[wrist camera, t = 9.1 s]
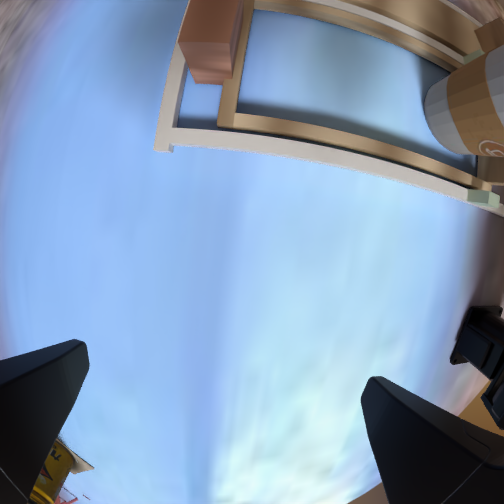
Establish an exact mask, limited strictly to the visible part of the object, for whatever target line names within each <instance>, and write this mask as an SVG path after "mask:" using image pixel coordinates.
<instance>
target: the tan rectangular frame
mask: <svg viewBox="0 0 504 504" xmlns="http://www.w3.org/2000/svg"><path fill="white" fill-rule="evenodd" d="M254 9H259V10H267V11H275V12H281V13H287V14H293V15H298V16H303V17H308V18H312V19H317V20H321V21H325V22H329V23H333V24H336V25H340V26H343V27H347V28H350V29H353V30H356V31H359V32H362V33H365V34H368V35H371V36H374V37H377V38H379V39H382V40H385V41H387V42H390V43H392V44H395V45H397V46H399V47H402V48H404V49H406V50H408V51H411V52H413V53H415V54H417V55H419V56H421V57H423V58H425V59H427V60H429V61H431V62H433V63H435V64H437V65H439V66H441V67H442V68H444V69H446V70H448V71H450V72H451V73H452V72H454V71H455V70H457V69H459V68H460V67H462V66H464V65H462V64H460V63H459V62H457V61H456V60H454V59H452V58H451V57H449V56H447V55H446V54H444V53H442V52H440V51H438V50H437V49H435V48H433V47H431V46H429V45H427V44H425V43H423V42H421V41H419V40H417V39H415V38H413V37H411V36H409V35H407V34H404V33H402V32H400V31H398V30H395V29H393V28H390V27H388V26H386V25H383V24H380V23H378V22H375V21H372V20H370V19H367V18H364V17H361V16H358V15H355V14H352V13H349V12H345V11H342V10H339V9H335V8H331V7H327V6H324V5H319V4H315V3H311V2H306V1H301V0H190V3H189V6H188V9H187V12H186V15H185V18H184V22H183V25H182V28H181V32H180V35H179V39H178V44H179V47H180V49H181V51H182V53H183V56H184V58H185V60H186V63H187V65H188V67H189V69H190V72H191V74H192V76H193V79H194V81H195V83H196V84H214V85H223V88H222V94H221V100H220V106H219V112H218V118H217V126H218V128H227V129H237V130H246V131H254V132H261V133H268V134H275V135H281V136H288V137H294V138H299V139H305V140H310V141H315V142H320V143H325V144H330V145H334V146H339V147H343V148H347V149H352V150H356V151H360V152H364V153H368V154H371V155H375V156H379V157H382V158H386V159H389V160H393V161H396V162H399V163H403V164H406V165H409V166H412V167H415V168H418V169H421V170H424V171H427V172H430V173H433V174H436V175H439V176H441V177H444V178H447V179H449V180H452V181H455V182H457V183H460V184H462V185H465V186H467V187H470V188H472V189H474V190H485V191H491V189H492V185H502V186H504V157H495V156H479V155H478V172H477V177H474V176H472V175H470V174H468V173H465V172H463V171H461V170H459V169H456V168H454V167H451V166H449V165H447V164H444V163H442V162H439V161H436V160H434V159H431V158H429V157H426V156H423V155H420V154H418V153H415V152H412V151H409V150H406V149H403V148H400V147H397V146H394V145H390V144H387V143H384V142H381V141H377V140H374V139H370V138H367V137H363V136H359V135H355V134H351V133H347V132H343V131H339V130H335V129H331V128H326V127H322V126H317V125H312V124H307V123H302V122H296V121H291V120H285V119H278V118H272V117H265V116H258V115H250V114H241V113H236V110H237V104H238V97H239V91H240V85H241V79H242V72H243V67H244V61H245V55H246V49H247V44H248V38H249V32H250V27H251V22H252V17H253V11H254Z"/></svg>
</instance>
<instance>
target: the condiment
mask: <svg viewBox="0 0 504 504" xmlns="http://www.w3.org/2000/svg"><path fill="white" fill-rule="evenodd" d="M76 460H77V461H76ZM92 469H94V468H93V467H91V466H90V465H88V464H87V463H86V462H84V461H83V460H82V459H81V458H79V457H78V456H77V455H76V454H74V453H73V452H72V451H71V450H70V449H69V448H68V447H66V446H65V445H64V444H63V443H62V442H60V441H59V440H58V439H57V438H56V440H55V442H54V444H53V446H52V448H51V450H50V452H49V455H48V457H47V459H46V461H45V463H44V465H43V467H42V469H41V472H40V474H39V476H38V478H37V481H36V483H35V485H34V488H33V490H32V492H31V495H30V497H29V500H28V503H27V504H54V503H55V501H56V499H57V497H58V495H59V492H60V490H61V488H62V486H63V484H64V482H65V480H66V478H67V476H68V474H69V472H71V473H73V474H76V473H80V472H83V471H88V470H92Z"/></svg>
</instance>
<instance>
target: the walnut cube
mask: <svg viewBox="0 0 504 504" xmlns="http://www.w3.org/2000/svg"><path fill="white" fill-rule="evenodd" d="M474 32H475V34H476V36H477V39H478V41H479V43H480V46H481V48H482V51H483V52H485V53H486V52H488V51H490V50H492V49H494V48H496V47H500V46H502V45H504V20H503V19H501V18H500V17H499V18H497V19H495V20H493V21H491V22H489V23H487V24H485V25H484V26H482V27H480V28H478V29H476V30H474Z"/></svg>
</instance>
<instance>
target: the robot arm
mask: <svg viewBox="0 0 504 504" xmlns="http://www.w3.org/2000/svg"><path fill="white" fill-rule="evenodd" d="M502 311H503V308H502V307H500V306H472V307H471V308H470V310H469V312H468V315H467V318H466V321H465V324H464V327H463V330H462V332H461V335H460V338H459V340H458V343H457V345H456V348H455V350H454V352H453V355H452V357H451V359H450V363H451V364H452V365H456V364H461V363H467V362H470V363H471V364H472V365H473V366H474V367H476V368H477V369H478V370H479V371H480V372H481V373H482V374H484V375H485V376H486V377H487V378H488V379H489V380H490V381H491V383H490V385H489V387H488V388H487V390H486V391H485V393H483V394H482V396H481V399H482V401H483V402H484V405H485V407H486V408H487V410H488V411H489V413H490V415H491V416H492V418H493V419H494V421H495V423H496V424H497V426H498V427H499V429H501V430H504V319H503V318H501V314H502ZM88 370H89V357H88V351H87V346H86V343H85V342H83V341H80V340H77V339H72V340H69V341H66V342H62V343H59V344H56V345H52V346H49V347H46V348H42V349H39V350H35V351H32V352H29V353H25V354H22V355H18V356H15V357H11V358H8V359H4V360H0V504H27V503H28V500H29V497H30V495H31V492H32V490H33V488H34V485H35V483H36V481H37V478H38V476H39V474H40V472H41V469H42V467H43V465H44V463H45V461H46V459H47V457H48V455H49V452H50V450H51V448H52V446H53V444H54V442H55V440H56V438H57V436H58V434H59V432H60V430H61V429H62V427H63V425H64V423H65V421H66V419H67V417H68V415H69V413H70V412H71V410H72V408H73V406H74V404H75V401H76V399H77V397H78V394H79V392H80V389H81V387H82V384H83V382H84V380H85V377H86V375H87V373H88ZM361 406H362V410H363V415H364V419H365V424H366V429H367V434H368V438H369V441H370V445H371V448H372V451H373V454H374V457H375V460H376V463H377V466H378V470H379V473H380V476H381V479H382V483H383V486H384V489H385V492H386V496H387V499H388V503H389V504H504V437H503V436H500V435H498V434H495V433H492V432H490V431H487V430H485V429H482V428H480V427H478V426H476V425H473V424H471V423H469V422H467V421H465V420H463V419H460V418H459V417H457V416H455V415H453V414H451V413H449V412H447V411H445V410H444V409H442V408H440V407H438V406H436V405H434V404H432V403H430V402H428V401H426V400H424V399H423V398H421V397H419V396H417V395H415V394H413V393H411V392H410V391H408V390H406V389H404V388H402V387H400V386H399V385H397V384H395V383H393V382H391V381H390V380H388V379H386V378H384V377H382V376H374V377H370V378H369V380H368V382H367V384H366V386H365V389H364V391H363V393H362V396H361Z"/></svg>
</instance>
